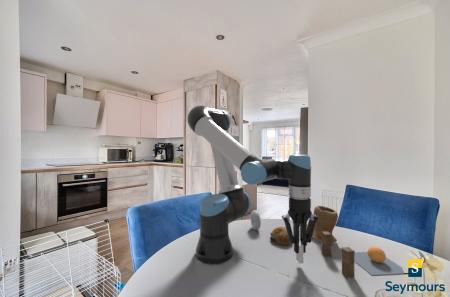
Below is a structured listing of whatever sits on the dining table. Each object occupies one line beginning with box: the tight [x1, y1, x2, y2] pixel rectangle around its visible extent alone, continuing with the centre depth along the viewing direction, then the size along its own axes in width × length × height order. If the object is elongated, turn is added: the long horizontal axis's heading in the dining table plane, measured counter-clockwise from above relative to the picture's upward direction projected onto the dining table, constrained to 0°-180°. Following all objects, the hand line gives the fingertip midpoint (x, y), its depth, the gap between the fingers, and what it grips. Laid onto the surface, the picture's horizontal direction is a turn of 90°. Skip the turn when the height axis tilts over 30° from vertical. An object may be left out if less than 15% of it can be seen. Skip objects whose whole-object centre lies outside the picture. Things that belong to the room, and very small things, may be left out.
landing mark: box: [354, 251, 405, 277], centre depth 75 cm, size 14×14×1 cm
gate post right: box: [341, 246, 356, 279], centre depth 68 cm, size 3×3×9 cm
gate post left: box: [321, 231, 333, 258], centre depth 80 cm, size 3×3×9 cm
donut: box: [250, 209, 262, 231], centre depth 105 cm, size 10×4×10 cm, turn 9°
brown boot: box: [306, 205, 339, 244], centre depth 95 cm, size 15×12×15 cm
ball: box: [366, 246, 387, 263], centre depth 75 cm, size 6×6×6 cm
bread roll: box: [269, 226, 292, 246], centre depth 93 cm, size 10×10×8 cm
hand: (299, 261), depth 73 cm, fingers closed
